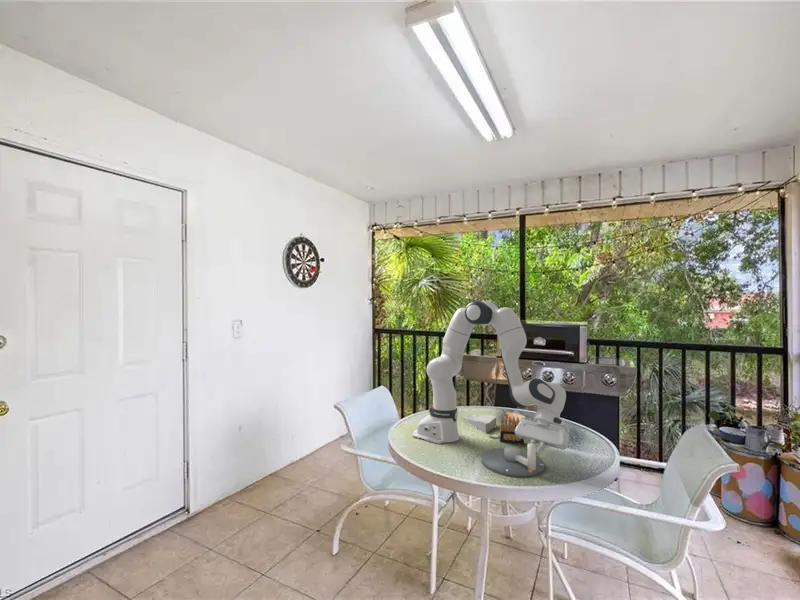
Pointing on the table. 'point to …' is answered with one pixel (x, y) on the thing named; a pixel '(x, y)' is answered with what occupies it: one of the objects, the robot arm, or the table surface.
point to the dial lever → (514, 456)
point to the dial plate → (509, 464)
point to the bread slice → (514, 416)
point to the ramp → (481, 422)
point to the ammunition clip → (509, 431)
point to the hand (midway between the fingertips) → (534, 452)
